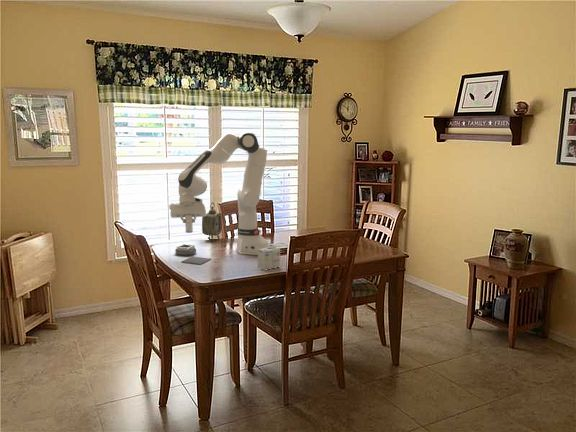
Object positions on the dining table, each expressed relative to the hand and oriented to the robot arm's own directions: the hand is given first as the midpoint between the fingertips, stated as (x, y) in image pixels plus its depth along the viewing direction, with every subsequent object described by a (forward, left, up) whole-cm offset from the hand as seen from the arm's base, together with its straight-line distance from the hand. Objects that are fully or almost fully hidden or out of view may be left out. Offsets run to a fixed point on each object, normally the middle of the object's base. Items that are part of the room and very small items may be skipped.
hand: (189, 222), depth 292 cm
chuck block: (+5, -4, -20) cm, 21 cm away
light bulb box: (-51, +4, -20) cm, 55 cm away
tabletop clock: (+9, -44, -20) cm, 49 cm away
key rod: (0, -1, -6) cm, 6 cm away
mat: (-9, +8, -20) cm, 23 cm away
